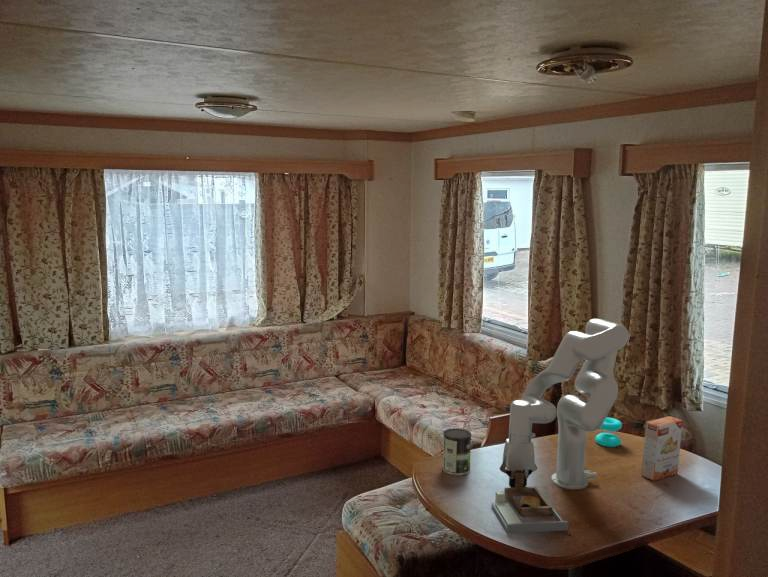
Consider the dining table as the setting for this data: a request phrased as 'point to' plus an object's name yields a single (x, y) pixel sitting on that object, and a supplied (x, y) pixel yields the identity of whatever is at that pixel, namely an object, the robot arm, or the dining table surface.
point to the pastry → (529, 502)
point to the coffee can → (456, 451)
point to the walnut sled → (520, 490)
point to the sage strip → (505, 509)
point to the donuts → (609, 438)
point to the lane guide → (534, 526)
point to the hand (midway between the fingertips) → (517, 487)
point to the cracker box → (661, 447)
